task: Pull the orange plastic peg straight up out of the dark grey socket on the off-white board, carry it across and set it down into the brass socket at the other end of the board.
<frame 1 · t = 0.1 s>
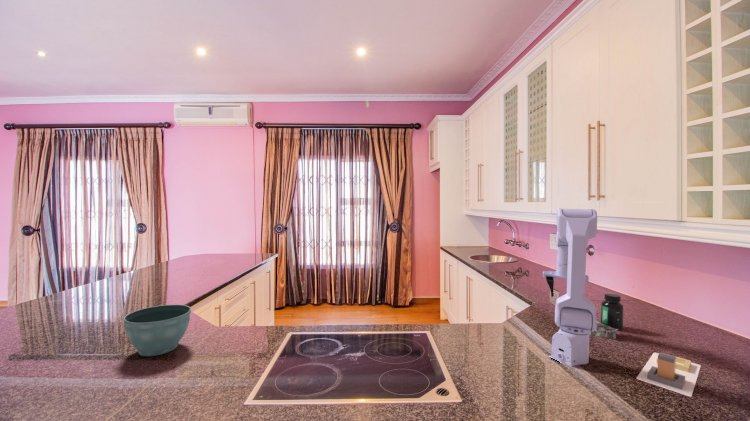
hand: (563, 297, 120), 11 cm above the countertop, tool pointing down, fingers open, 7 cm apart
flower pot: (158, 350, 93), on the countertop
egg carton: (597, 334, 112), on the countertop
socket board: (670, 374, 85), on the countertop
supplement bottle: (611, 327, 119), on the countertop
peg: (666, 379, 81), point 1 cm above the countertop, touching socket board
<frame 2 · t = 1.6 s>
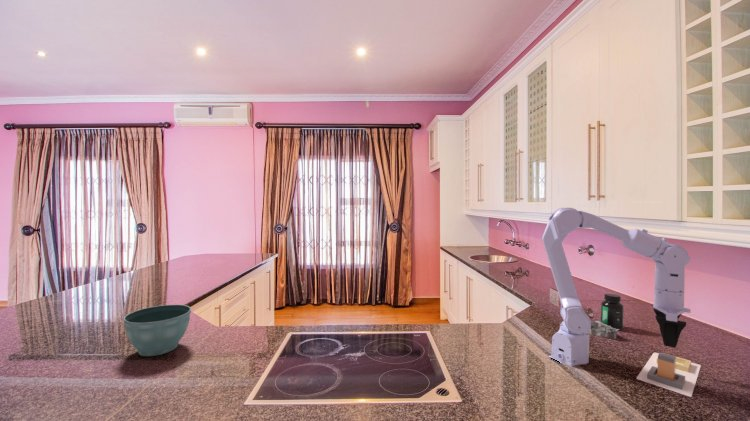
hand: (668, 341, 83), 10 cm above the countertop, tool pointing down, fingers open, 7 cm apart
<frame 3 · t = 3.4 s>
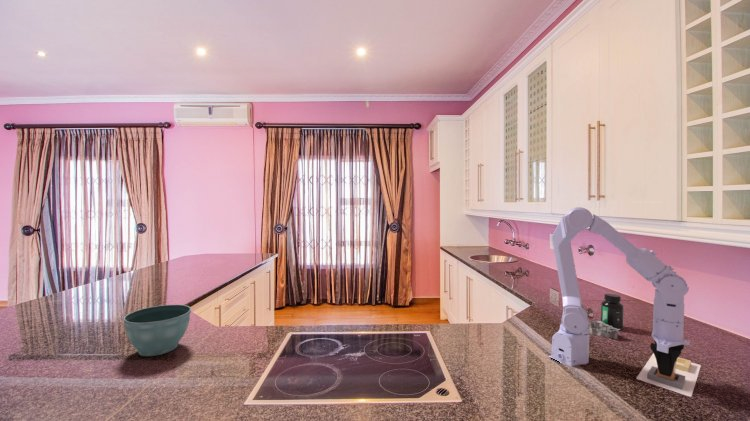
hand: (666, 372, 81), 3 cm above the countertop, tool pointing down, fingers closed on peg, 3 cm apart
peg: (666, 379, 81), point 1 cm above the countertop, touching gripper, socket board
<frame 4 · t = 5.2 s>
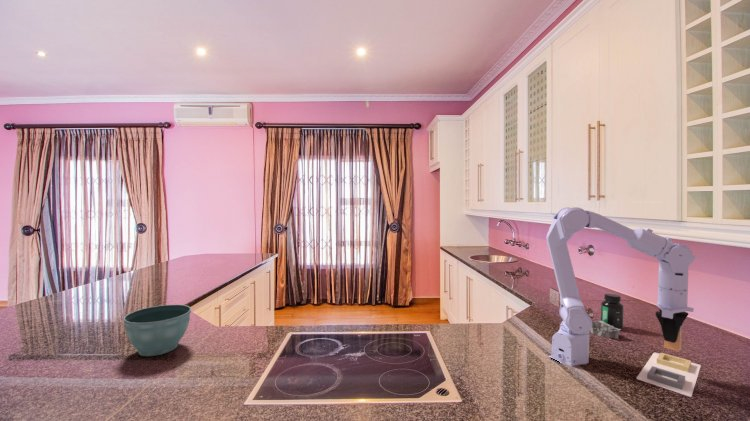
hand: (671, 339, 84), 10 cm above the countertop, tool pointing down, fingers closed on peg, 3 cm apart
peg: (672, 347, 84), point 8 cm above the countertop, touching gripper
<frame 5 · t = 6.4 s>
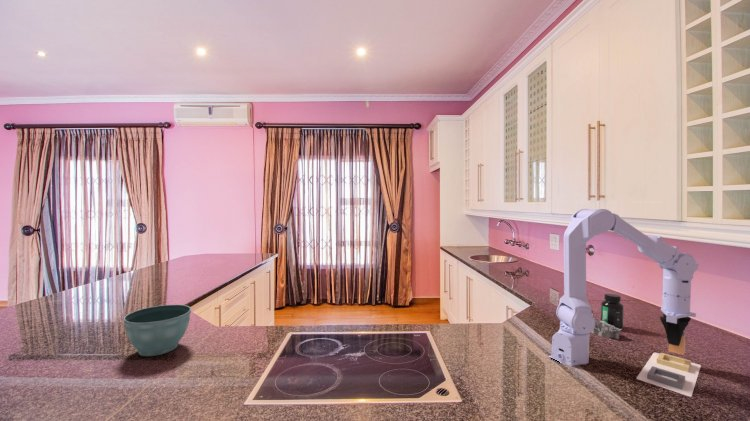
hand: (674, 342, 89), 7 cm above the countertop, tool pointing down, fingers closed on peg, 3 cm apart
peg: (676, 351, 89), point 4 cm above the countertop, touching gripper
when the fingers open (3 cm above the countertop, at t = 7.4 s): peg stays where it is, resting on socket board.
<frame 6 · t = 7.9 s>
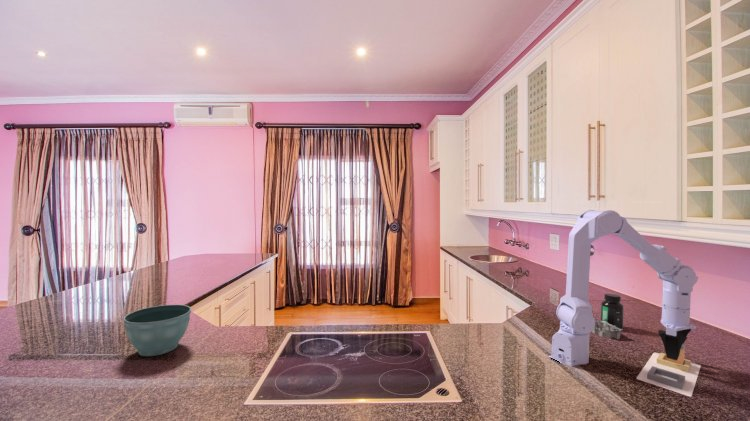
hand: (674, 354, 89), 3 cm above the countertop, tool pointing down, fingers open, 7 cm apart
peg: (675, 364, 89), point 1 cm above the countertop, touching socket board
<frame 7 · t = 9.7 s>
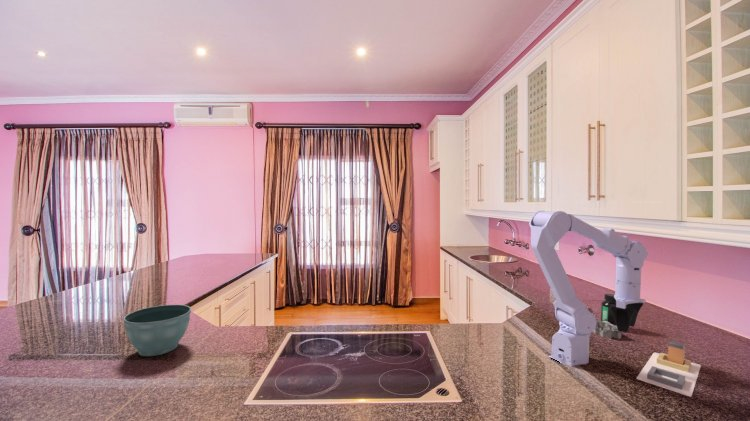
hand: (626, 328, 92), 9 cm above the countertop, tool pointing down, fingers open, 7 cm apart
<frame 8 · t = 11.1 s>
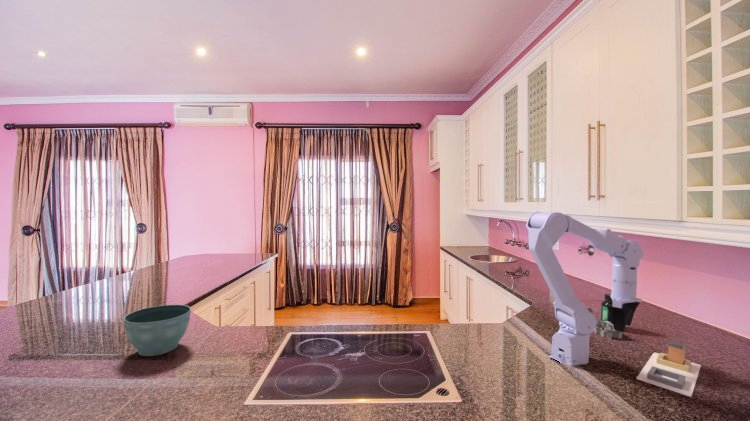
hand: (622, 327, 93), 9 cm above the countertop, tool pointing down, fingers open, 7 cm apart
at the end: peg 0.4 cm from the target spot on the socket board, point 0.8 cm above the socket board's base; peg tilted 0°; the gripper is holding nothing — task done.
